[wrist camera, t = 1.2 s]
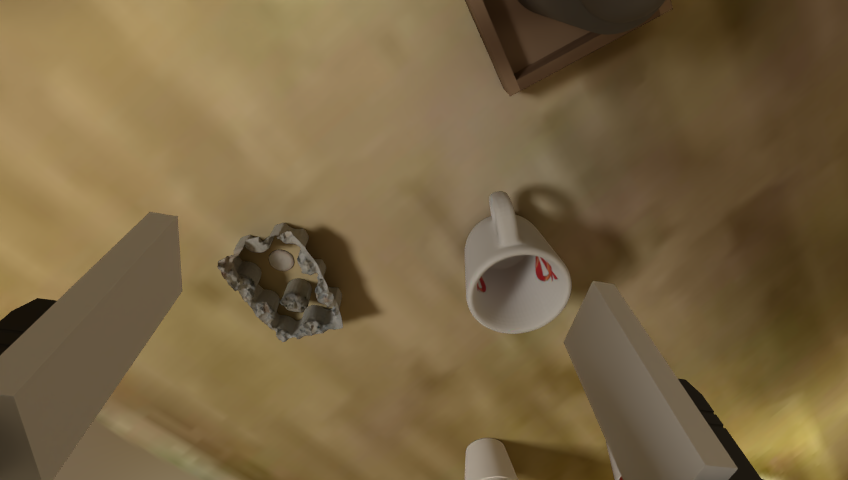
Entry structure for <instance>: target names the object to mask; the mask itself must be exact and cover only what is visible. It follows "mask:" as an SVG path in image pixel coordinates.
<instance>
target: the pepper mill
mask: <svg viewBox="0 0 848 480" xmlns="http://www.w3.org/2000/svg"><path fill="white" fill-rule="evenodd" d="M518 1H519V2H520V4H521V5H522V6H524V7H525V8H526V9H528V10H529V11H531V12H534V13H537V14H539V15H542V16H545V17H548V18H551V19H554V20H557V21H560V22H563V23H566V24H569V25H572V26H575V27H578V28H581V29H584V30H587V31H590V32H593V33H597V34H605V35H609V34H618V33H622V32H625V31H628V30H631V29H633V28H635V27H637V26H639V25H640V24H642V23H643V22H645V21H646V20H647V19H649V18H650V17H651V16H652V15H653V14H654V13H655V12H656V11H657V10H658V9H659V8H660V7H661V6H662V4H663V3H664V2H665V0H518Z"/></svg>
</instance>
